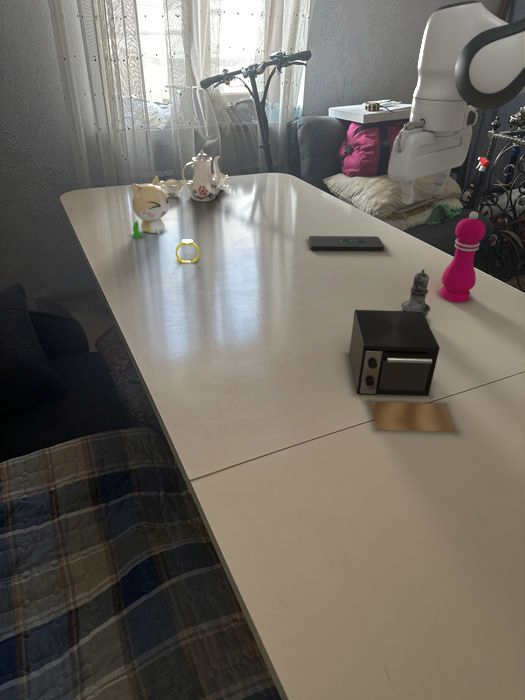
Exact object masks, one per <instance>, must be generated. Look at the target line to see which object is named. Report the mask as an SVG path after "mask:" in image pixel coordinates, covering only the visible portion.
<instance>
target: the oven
mask: <svg viewBox="0 0 525 700" xmlns="http://www.w3.org/2000/svg"><path fill="white" fill-rule="evenodd" d="M352 320H353V321H352V329H351V337H350V344H349V353H348V357H349V362H350V367H351V373H352V376H353V382H354V387H355V392H356V395H381V396H409V397H410V396H411V397H413V396H414V397H418V396H419V397H429V395H430V391H431V386H432V381H433V377H434V373H435V369H436V365H437V360H438V356H439V352H440V348H441V347H440V345H439V343H438V341H437V339H436V337H435V335H434V332H433V331H432V328H431V326H430V324H429V322H428V321H427V318H426V317H425V316H424V314H423V312H420V311H402V310H379V309H378V310H377V309H354V313H353V319H352Z"/></svg>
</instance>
